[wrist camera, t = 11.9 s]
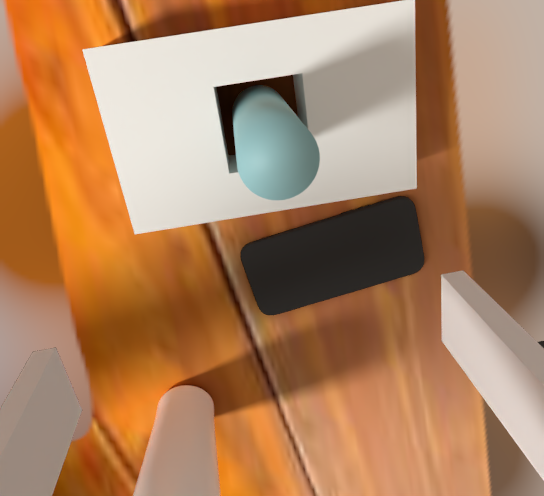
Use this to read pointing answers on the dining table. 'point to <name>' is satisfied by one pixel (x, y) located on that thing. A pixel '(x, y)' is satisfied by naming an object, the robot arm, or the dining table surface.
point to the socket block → (249, 67)
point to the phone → (334, 256)
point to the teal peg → (272, 145)
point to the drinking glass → (181, 447)
